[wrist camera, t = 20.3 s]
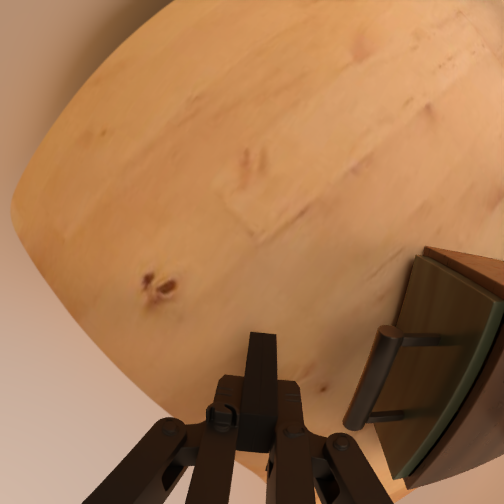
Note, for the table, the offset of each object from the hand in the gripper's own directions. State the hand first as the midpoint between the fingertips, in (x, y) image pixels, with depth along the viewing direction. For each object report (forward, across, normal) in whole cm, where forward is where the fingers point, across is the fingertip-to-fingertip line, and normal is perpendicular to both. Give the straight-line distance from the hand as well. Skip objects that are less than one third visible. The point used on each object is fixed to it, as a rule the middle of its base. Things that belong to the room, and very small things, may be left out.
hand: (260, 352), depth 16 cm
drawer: (+3, +15, 0) cm, 15 cm away
